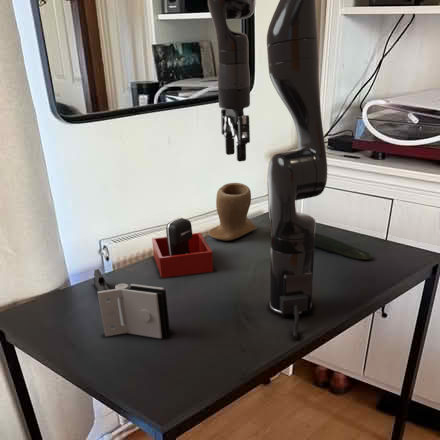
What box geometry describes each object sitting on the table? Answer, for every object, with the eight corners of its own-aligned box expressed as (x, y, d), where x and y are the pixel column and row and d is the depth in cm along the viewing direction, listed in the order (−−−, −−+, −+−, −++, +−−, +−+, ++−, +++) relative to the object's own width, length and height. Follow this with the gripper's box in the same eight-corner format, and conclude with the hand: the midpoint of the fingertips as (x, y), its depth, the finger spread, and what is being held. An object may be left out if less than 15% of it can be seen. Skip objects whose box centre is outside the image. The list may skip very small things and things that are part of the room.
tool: (275, 244, 161) (275, 221, 158) (289, 237, 165) (289, 215, 161) (359, 266, 145) (361, 241, 142) (372, 259, 149) (375, 234, 145)
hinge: (103, 336, 119) (96, 292, 114) (111, 325, 124) (104, 282, 118) (167, 339, 117) (162, 294, 112) (173, 327, 122) (168, 283, 116)
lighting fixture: (122, 313, 129) (119, 296, 126) (111, 315, 128) (108, 298, 125) (105, 283, 143) (102, 267, 141) (94, 285, 142) (92, 269, 140)
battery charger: (179, 268, 148) (175, 225, 142) (168, 265, 150) (164, 223, 144) (196, 259, 153) (193, 218, 146) (185, 257, 155) (182, 215, 148)
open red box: (213, 271, 146) (212, 251, 144) (161, 277, 144) (159, 258, 141) (201, 251, 159) (200, 232, 156) (153, 256, 157) (151, 238, 154)
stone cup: (232, 247, 161) (231, 193, 152) (203, 238, 168) (200, 186, 159) (266, 233, 169) (267, 181, 161) (237, 225, 176) (236, 175, 168)
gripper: (209, 83, 138) (213, 154, 147) (228, 89, 127) (230, 165, 136) (238, 81, 140) (240, 150, 149) (259, 86, 128) (259, 161, 137)
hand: (235, 157), depth 142 cm, fingers open, 8 cm apart
